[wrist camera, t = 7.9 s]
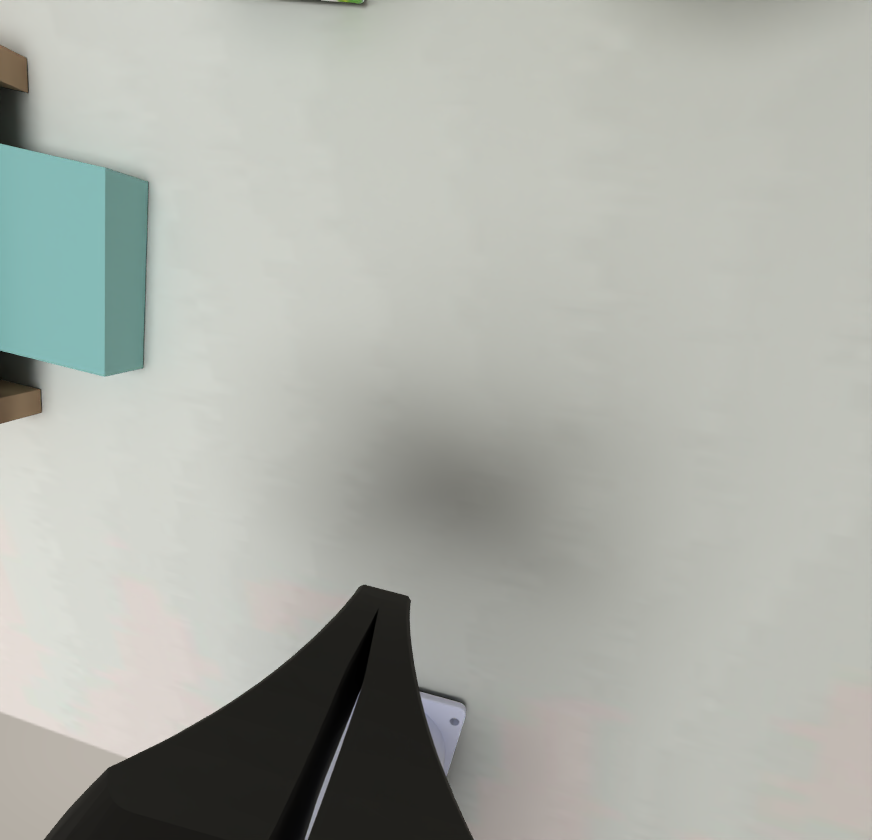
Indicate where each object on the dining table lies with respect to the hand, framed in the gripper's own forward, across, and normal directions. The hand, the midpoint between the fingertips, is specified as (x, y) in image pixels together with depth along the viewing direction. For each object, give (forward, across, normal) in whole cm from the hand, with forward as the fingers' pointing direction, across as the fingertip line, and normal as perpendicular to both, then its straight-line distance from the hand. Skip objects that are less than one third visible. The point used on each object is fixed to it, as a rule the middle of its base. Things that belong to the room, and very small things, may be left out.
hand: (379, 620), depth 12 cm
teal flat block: (+9, +20, -6) cm, 23 cm away
